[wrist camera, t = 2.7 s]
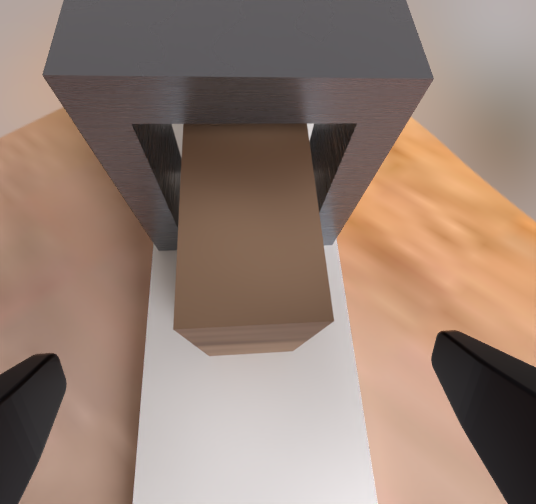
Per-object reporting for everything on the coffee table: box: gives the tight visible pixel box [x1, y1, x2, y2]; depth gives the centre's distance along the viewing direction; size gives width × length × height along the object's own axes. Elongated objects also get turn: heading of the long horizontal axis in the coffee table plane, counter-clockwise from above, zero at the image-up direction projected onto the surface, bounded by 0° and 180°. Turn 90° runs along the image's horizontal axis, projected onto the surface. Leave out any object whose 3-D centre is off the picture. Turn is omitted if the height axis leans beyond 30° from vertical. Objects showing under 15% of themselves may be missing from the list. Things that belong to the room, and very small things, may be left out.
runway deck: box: [133, 124, 378, 504], centre depth 17 cm, size 28×10×2 cm, turn 3°
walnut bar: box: [173, 124, 334, 356], centre depth 14 cm, size 10×4×8 cm, turn 3°
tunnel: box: [43, 0, 433, 251], centre depth 13 cm, size 4×9×10 cm, turn 93°
